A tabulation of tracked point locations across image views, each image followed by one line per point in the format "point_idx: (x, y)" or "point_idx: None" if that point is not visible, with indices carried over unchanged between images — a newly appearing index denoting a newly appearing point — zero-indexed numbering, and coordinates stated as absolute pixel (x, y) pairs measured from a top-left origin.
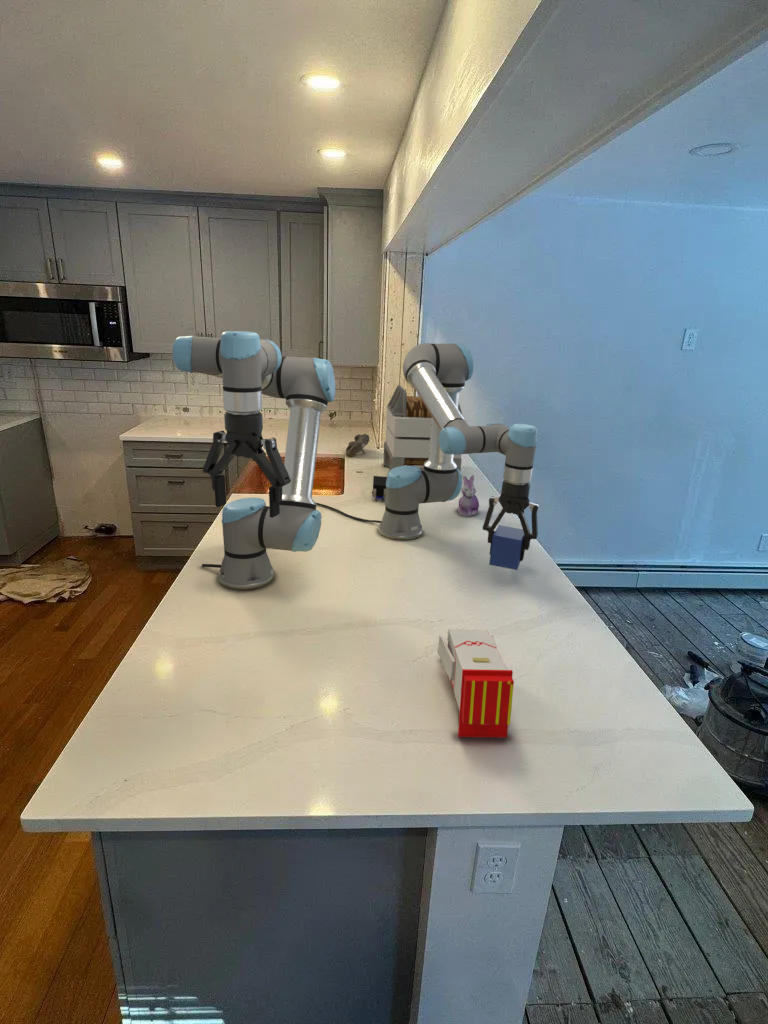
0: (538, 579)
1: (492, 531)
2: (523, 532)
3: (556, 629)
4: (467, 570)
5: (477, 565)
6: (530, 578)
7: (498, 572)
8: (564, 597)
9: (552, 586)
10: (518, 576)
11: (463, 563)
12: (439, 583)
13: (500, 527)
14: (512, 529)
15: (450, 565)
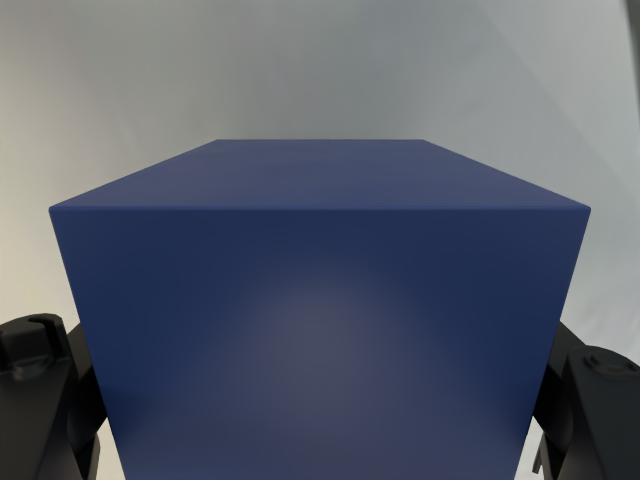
0: (496, 70)
1: (91, 461)
2: (530, 343)
3: (535, 445)
4: (117, 140)
5: (136, 41)
6: (451, 78)
7: (272, 83)
8: (607, 221)
9: (565, 126)
10: (384, 84)
11: (56, 53)
12: (77, 323)
13: (127, 311)
14: (339, 308)
15: (12, 119)
